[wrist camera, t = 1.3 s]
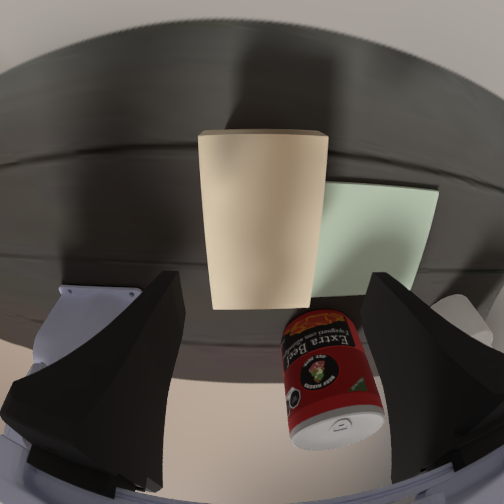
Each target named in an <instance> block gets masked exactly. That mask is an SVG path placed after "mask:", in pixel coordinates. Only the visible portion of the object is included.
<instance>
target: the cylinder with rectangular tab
mask: <svg viewBox="0 0 504 504" xmlns="http://www.w3.org/2000/svg"><path fill="white" fill-rule="evenodd" d="M430 308H432V309H433V310H434V311H435V312H437V313H438V314H439V315H441V316H442V317H443V318H445V319H446V320H447V321H449V322H450V323H451V324H453V325H454V326H456V327H457V328H459V329H460V330H462V331H463V332H465V333H466V334H468V335H470V336H471V337H473V338H475V339H476V340H478V341H480V342H482V343H483V344H485V345H487V346H489V347H491V348H493V347H492V346H491V343H492V341H493V334H492V332H491V330H490V329H489V327H488V326H487V325H486V323H485V322H484V320H483V319H482V317H481V316H480V315H479V313H478V312H477V310H476V309H475V308H474V306H473V305H472V304H471V302H470V301H469V300H468V298H467V297H465V296H464V295H460V294H455V295H451V296H448V297H446V298H443V299H441V300H440V301H438V302H437V303H435V304H434V305H432V306H431V307H430Z"/></svg>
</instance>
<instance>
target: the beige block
mask: <svg viewBox="0 0 504 504" xmlns="http://www.w3.org/2000/svg"><path fill="white" fill-rule="evenodd" d="M198 147H199V164H200V179H201V193H202V205H203V217H204V229H205V240H206V250H207V260H208V269H209V278H210V287H211V296H212V304H213V309H285V308H309V306H310V300H311V293H312V287H313V280H314V273H315V266H316V259H317V251H318V244H319V236H320V227H321V218H322V209H323V199H324V189H325V178H326V165H327V152H328V136H327V135H325V134H323V133H321V132H319V131H312V130H292V129H224V130H204V131H203V132H202V133H201V134H199V135H198Z"/></svg>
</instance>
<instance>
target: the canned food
mask: <svg viewBox="0 0 504 504" xmlns="http://www.w3.org/2000/svg"><path fill="white" fill-rule="evenodd" d="M281 355H282V365H283V375H284V384H285V394H286V404H287V415H288V425H289V432H290V438H291V443H292V445H293V446H295V447H297V448H299V449H304V450H312V451H315V450H316V451H317V450H318V451H319V450H329V449H335V448H340V447H343V446H347V445H350V444H353V443H355V442H358V441H360V440H363V439H365V438H366V437H368V436H370V435H372V434H373V433H374V432H376V431H377V430H378V429H379V428H381V427H382V425H383V424H384V422H385V413H384V409H383V406H382V403H381V399H380V396H379V393H378V390H377V387H376V384H375V381H374V378H373V375H372V372H371V369H370V366H369V363H368V360H367V358H366V355H365V352H364V349H363V347H362V344H361V341H360V339H359V336H358V333H357V331H356V328H355V325H354V324H353V323H352V321H351V320H350V319H349V318H348V317H347V316H346V315H345V314H343V313H341V312H339V311H336V310H331V309H321V310H314V311H311V312H308V313H305V314H303V315H301V316H299V317H297V318H296V319H294V320H293V321H292V322H291V323H290V324H289V325H288V326H287V327H286V329H285V331H284V333H283V337H282V341H281Z"/></svg>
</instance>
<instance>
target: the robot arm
mask: <svg viewBox="0 0 504 504" xmlns="http://www.w3.org/2000/svg"><path fill="white" fill-rule="evenodd" d="M59 291H60V293H61V295H62V296H61V297H60V298H59V300H58V301H57V303H56V304H55V306H54V307H53V309H52V311H51V312H50V314H49V315H48V317H47V318H46V320H45V322H44V323H43V325H42V326H41V328H40V330H39V331H38V333H37V335H36V338H35V341H34V346H33V359H34V364H33V365H32V366H31V368H30V370H29V371H28V373H27V375H26V377H24V378H21V379H19V380H16V381H14V382H13V384H12V386H11V388H10V390H9V392H8V394H7V397H6V399H5V401H4V403H3V405H2V408H1V410H0V416H1V418H2V420H3V421H4V422H5V423H6V425H5V429H4V432H3V435H0V502H2V503H3V504H208V503H197V502H188V501H181V500H174V499H167V498H162V497H157V496H152V495H147V494H142V493H138V492H135V490H138V491H142V492H145V491H149V492H154V493H155V492H157V491H159V490H160V489H161V488H163V480H162V479H163V478H162V477H163V476H162V474H163V473H162V463H163V461H162V459H163V436H164V425H165V414H166V405H167V397H168V391H169V386H170V382H171V378H172V374H173V370H174V366H175V362H176V359H177V355H178V351H179V347H180V343H181V340H182V335H183V328H184V321H185V314H186V312H185V306H184V301H183V295H182V289H181V283H180V277H179V271H162V272H161V273H160V274H159V275H158V276H157V277H156V278H155V279H154V280H153V281H152V282H151V283H150V284H149V285H148V286H147V287H146V289H145V290H144V291H143V292H142V290H141V289H139V288H124V287H96V286H74V285H61V286H60V287H59ZM131 292H132V293H134V294H132V293H131ZM360 316H361V320H362V325H363V329H364V333H365V336H366V339H367V342H368V345H369V347H370V350H371V353H372V356H373V358H374V361H375V364H376V367H377V370H378V372H379V375H380V378H381V381H382V385H383V388H384V393H385V398H386V403H387V409H388V416H389V424H390V434H391V447H392V470H391V480H392V485H388V486H385V487H381V488H377V489H374V490H370V491H366V492H361V493H357V494H352V495H348V496H343V497H337V498H332V499H325V500H318V501H311V502H302V503H291V504H390V503H393V502H396V501H399V500H402V499H405V498H407V497H411V496H413V495H416V494H418V493H419V494H418V495H417V496H416V498H415V500H414V501H413V502H412V503H410V504H504V353H502V352H500V351H497V350H495V349H493V348H491V347H489V346H487V345H485V344H483V343H482V342H480V341H478V340H476V339H475V338H473V337H471V336H470V335H468V334H466V333H465V332H463V331H462V330H460V329H459V328H457V327H456V326H454V325H453V324H451V323H450V322H449V321H447V320H446V319H445V318H443V317H442V316H441V315H439V314H438V313H437V312H435V311H434V310H433V309H432V308H430V307H429V306H428V305H427V304H425V303H424V302H423V301H422V300H421V299H419V298H418V297H417V296H416V295H415V294H413V293H412V292H411V291H410V290H409V289H407V288H406V287H405V286H404V285H403V284H401V283H400V282H399V281H398V280H396V279H395V278H394V277H392V276H391V275H390V274H388V273H387V272H372V275H371V278H370V281H369V285H368V288H367V291H366V294H365V297H364V300H363V303H362V306H361V309H360Z"/></svg>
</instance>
